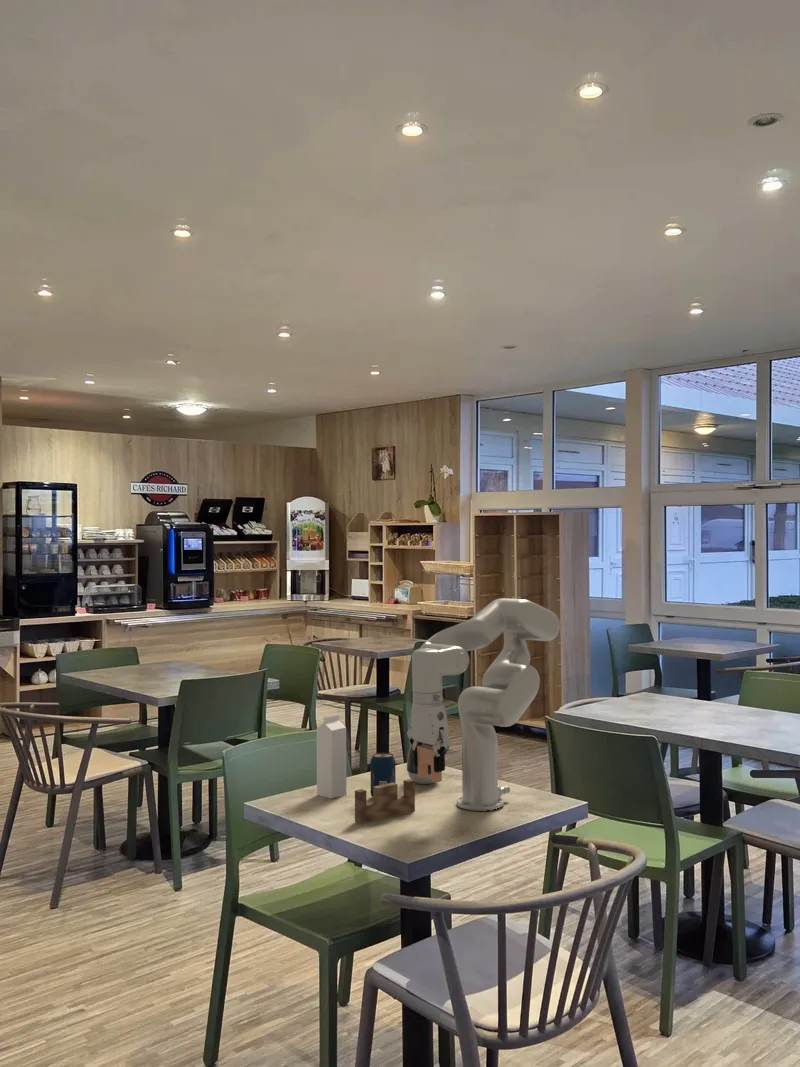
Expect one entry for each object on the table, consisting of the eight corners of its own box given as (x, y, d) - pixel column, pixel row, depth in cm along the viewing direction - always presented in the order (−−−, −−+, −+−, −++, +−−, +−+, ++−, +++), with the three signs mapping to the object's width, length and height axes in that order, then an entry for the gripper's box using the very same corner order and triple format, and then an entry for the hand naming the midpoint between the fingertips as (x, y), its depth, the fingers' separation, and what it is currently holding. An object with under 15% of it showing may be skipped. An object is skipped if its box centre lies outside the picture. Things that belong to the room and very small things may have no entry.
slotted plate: (423, 775, 234) (423, 744, 233) (441, 781, 228) (441, 749, 228) (417, 777, 232) (417, 745, 232) (435, 782, 227) (434, 750, 227)
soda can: (370, 795, 256) (370, 752, 256) (395, 794, 256) (395, 751, 256) (370, 801, 249) (370, 757, 249) (395, 801, 249) (395, 757, 249)
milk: (346, 794, 256) (347, 716, 257) (331, 799, 252) (332, 719, 252) (330, 790, 260) (331, 713, 260) (315, 795, 255) (316, 716, 256)
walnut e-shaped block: (410, 809, 241) (409, 778, 241) (414, 810, 240) (414, 780, 240) (354, 822, 230) (354, 790, 230) (359, 824, 228) (359, 792, 229)
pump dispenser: (443, 786, 264) (442, 733, 264) (407, 786, 264) (406, 734, 264) (440, 777, 274) (440, 727, 275) (406, 777, 274) (406, 727, 274)
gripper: (461, 700, 226) (463, 772, 226) (417, 691, 239) (418, 759, 239) (439, 704, 221) (440, 778, 221) (394, 695, 234) (396, 764, 235)
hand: (429, 767), depth 230 cm, fingers closed on slotted plate, 7 cm apart
